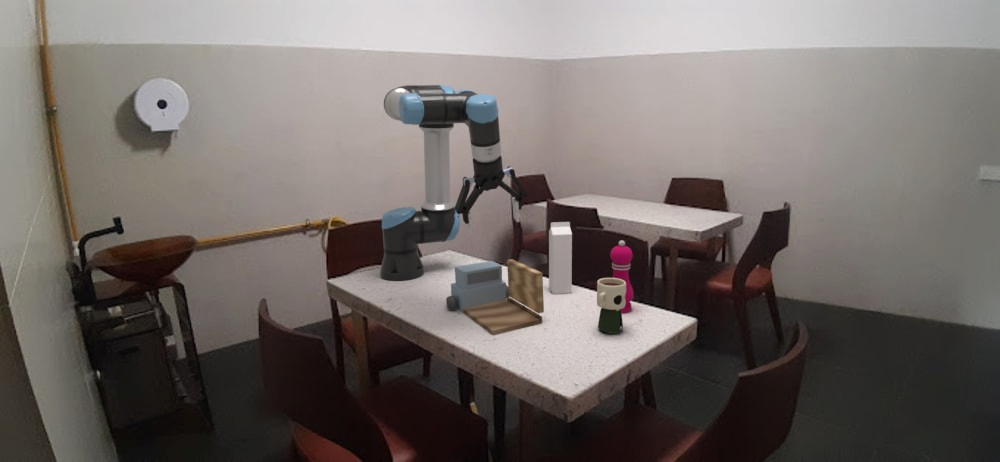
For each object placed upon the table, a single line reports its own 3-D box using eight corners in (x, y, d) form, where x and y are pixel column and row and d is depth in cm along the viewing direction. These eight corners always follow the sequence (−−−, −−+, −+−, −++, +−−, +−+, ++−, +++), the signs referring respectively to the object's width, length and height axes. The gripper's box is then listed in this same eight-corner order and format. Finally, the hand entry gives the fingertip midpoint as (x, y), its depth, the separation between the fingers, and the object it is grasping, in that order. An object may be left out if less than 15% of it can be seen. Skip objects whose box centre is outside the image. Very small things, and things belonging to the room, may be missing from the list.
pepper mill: (618, 315, 140) (620, 244, 136) (601, 307, 147) (603, 239, 142) (638, 310, 144) (641, 241, 139) (621, 303, 150) (623, 236, 145)
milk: (571, 293, 159) (572, 223, 154) (552, 294, 158) (552, 224, 154) (567, 287, 165) (568, 219, 160) (548, 287, 164) (548, 220, 159)
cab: (444, 305, 151) (442, 267, 148) (500, 294, 159) (499, 258, 157) (455, 314, 144) (453, 274, 141) (513, 301, 153) (513, 264, 150)
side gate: (508, 296, 150) (506, 260, 147) (513, 295, 150) (512, 259, 148) (538, 313, 136) (537, 274, 133) (544, 312, 137) (542, 272, 134)
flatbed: (463, 312, 145) (462, 306, 145) (508, 302, 152) (508, 297, 151) (492, 335, 129) (492, 328, 129) (542, 323, 136) (542, 316, 136)
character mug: (611, 341, 125) (613, 290, 122) (586, 333, 129) (587, 284, 126) (633, 327, 132) (635, 279, 130) (608, 320, 137) (610, 274, 134)
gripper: (443, 173, 125) (454, 244, 137) (537, 151, 132) (540, 221, 143) (436, 161, 131) (447, 230, 143) (526, 141, 138) (529, 208, 149)
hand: (494, 225), depth 143 cm, fingers open, 13 cm apart
